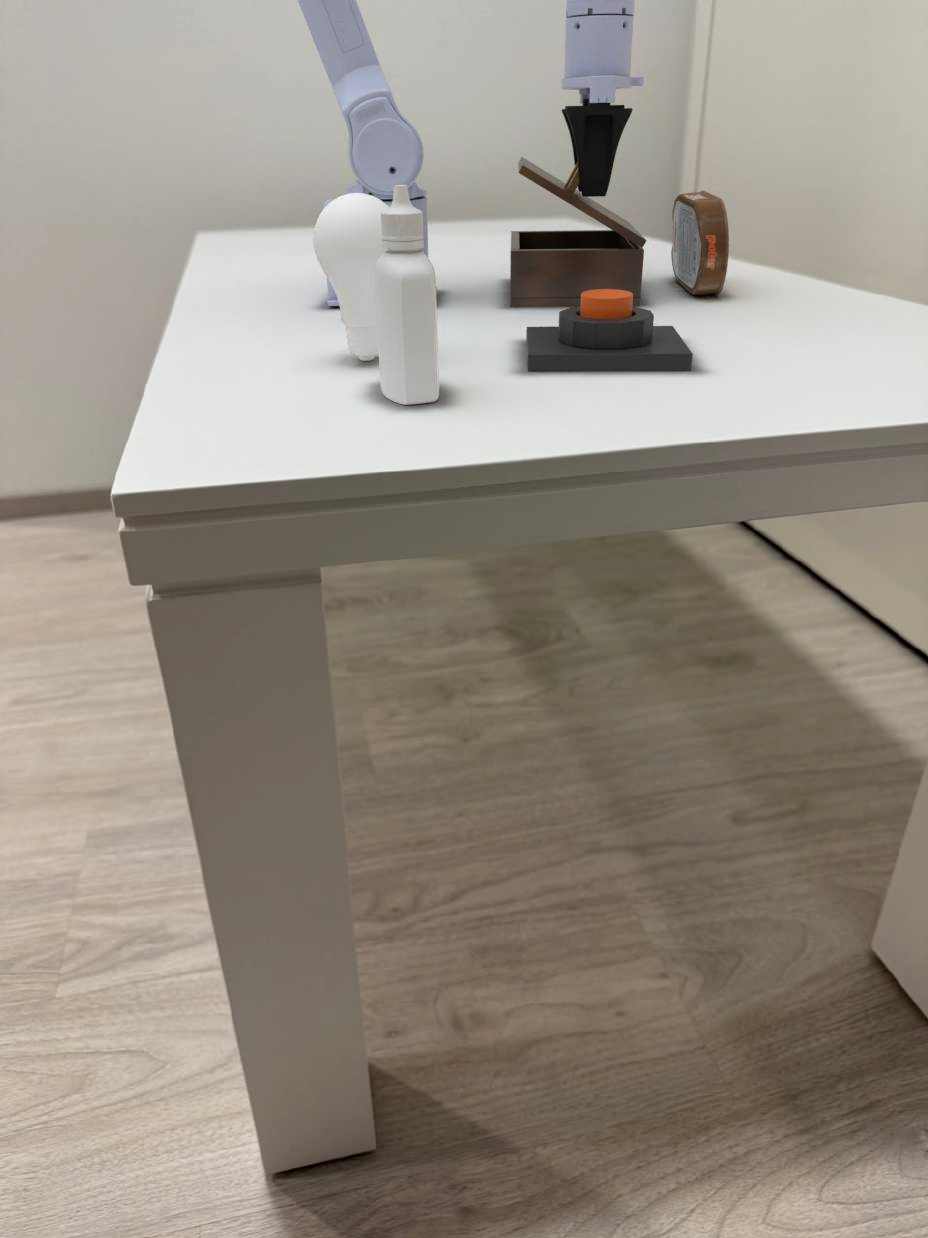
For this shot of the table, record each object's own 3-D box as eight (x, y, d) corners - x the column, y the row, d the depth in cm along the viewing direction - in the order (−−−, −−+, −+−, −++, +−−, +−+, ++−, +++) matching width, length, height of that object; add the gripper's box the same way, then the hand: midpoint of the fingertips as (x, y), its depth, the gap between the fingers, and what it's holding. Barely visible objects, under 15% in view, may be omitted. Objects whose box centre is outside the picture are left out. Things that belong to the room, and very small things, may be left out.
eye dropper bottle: (452, 384, 61) (448, 181, 55) (433, 408, 56) (426, 189, 50) (388, 381, 61) (377, 181, 56) (363, 405, 56) (349, 189, 51)
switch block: (527, 372, 63) (528, 326, 61) (526, 342, 71) (526, 301, 69) (691, 371, 62) (695, 325, 61) (671, 341, 70) (675, 300, 69)
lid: (518, 172, 78) (546, 116, 76) (517, 163, 91) (542, 115, 89) (642, 247, 80) (673, 195, 78) (624, 228, 93) (651, 183, 91)
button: (581, 324, 64) (582, 298, 63) (578, 314, 67) (579, 288, 66) (634, 324, 64) (635, 297, 63) (628, 313, 67) (630, 288, 66)
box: (510, 307, 83) (510, 250, 81) (510, 280, 96) (511, 230, 94) (640, 306, 83) (644, 249, 80) (623, 279, 95) (626, 229, 93)
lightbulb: (342, 375, 63) (327, 198, 58) (312, 357, 68) (296, 192, 62) (423, 363, 65) (416, 192, 60) (389, 347, 70) (380, 187, 65)
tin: (726, 301, 84) (738, 200, 80) (691, 302, 84) (701, 200, 80) (693, 275, 97) (702, 186, 93) (663, 275, 97) (671, 187, 93)
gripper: (658, 8, 72) (645, 199, 79) (637, 23, 85) (627, 186, 91) (567, 10, 72) (561, 201, 79) (559, 25, 85) (555, 188, 92)
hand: (591, 193), depth 85 cm, fingers closed on lid, 5 cm apart
